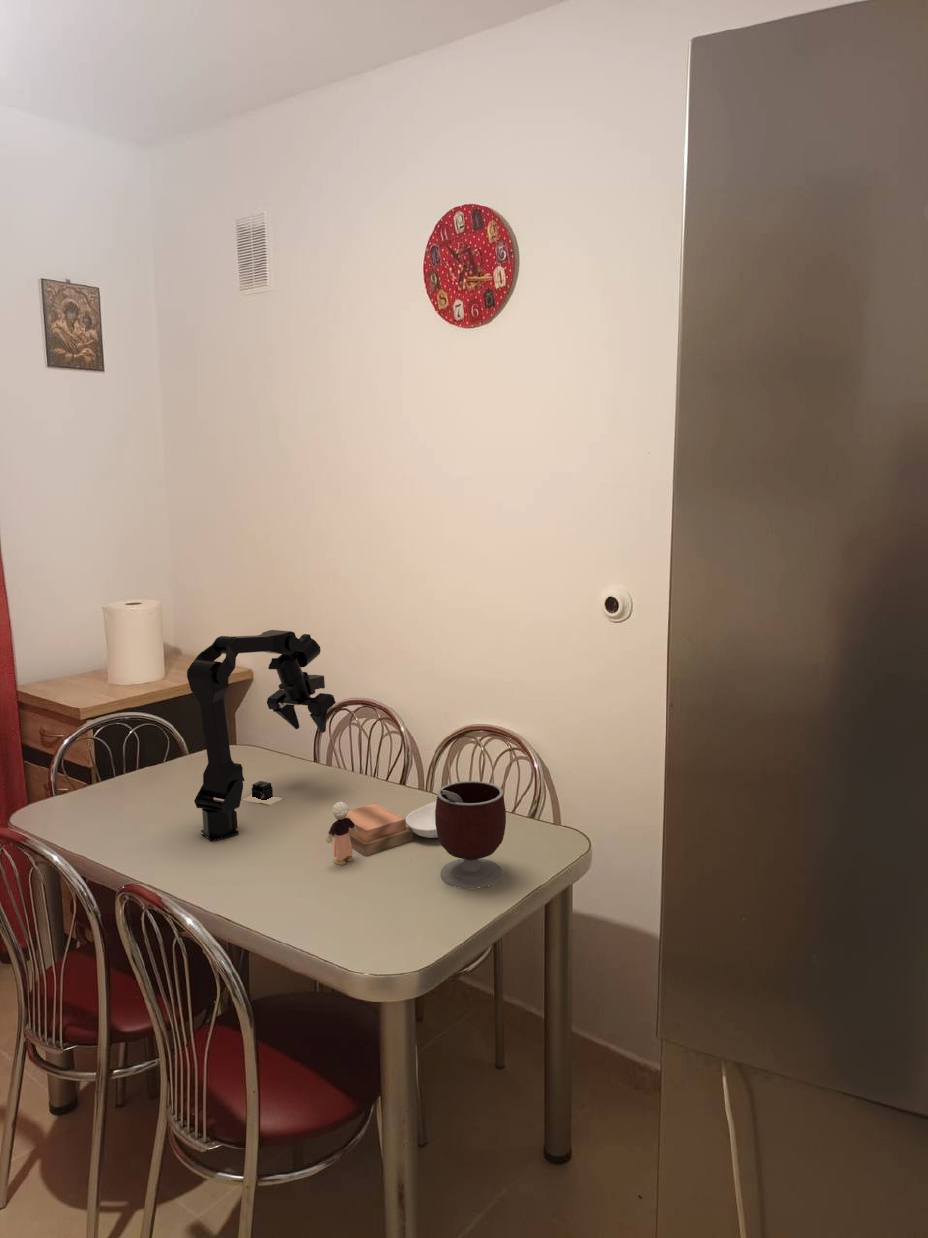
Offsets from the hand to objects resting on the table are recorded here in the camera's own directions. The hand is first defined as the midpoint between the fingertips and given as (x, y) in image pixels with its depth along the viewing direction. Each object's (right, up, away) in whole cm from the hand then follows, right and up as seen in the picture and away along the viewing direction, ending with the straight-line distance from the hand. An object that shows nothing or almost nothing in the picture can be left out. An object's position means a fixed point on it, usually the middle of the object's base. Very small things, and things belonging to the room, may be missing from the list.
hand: (310, 730), depth 218 cm
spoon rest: (+36, -19, -23) cm, 47 cm away
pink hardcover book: (+19, -20, -29) cm, 40 cm away
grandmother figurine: (+14, -22, -40) cm, 48 cm away
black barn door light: (-11, -17, -4) cm, 21 cm away
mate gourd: (+40, -23, -48) cm, 66 cm away
